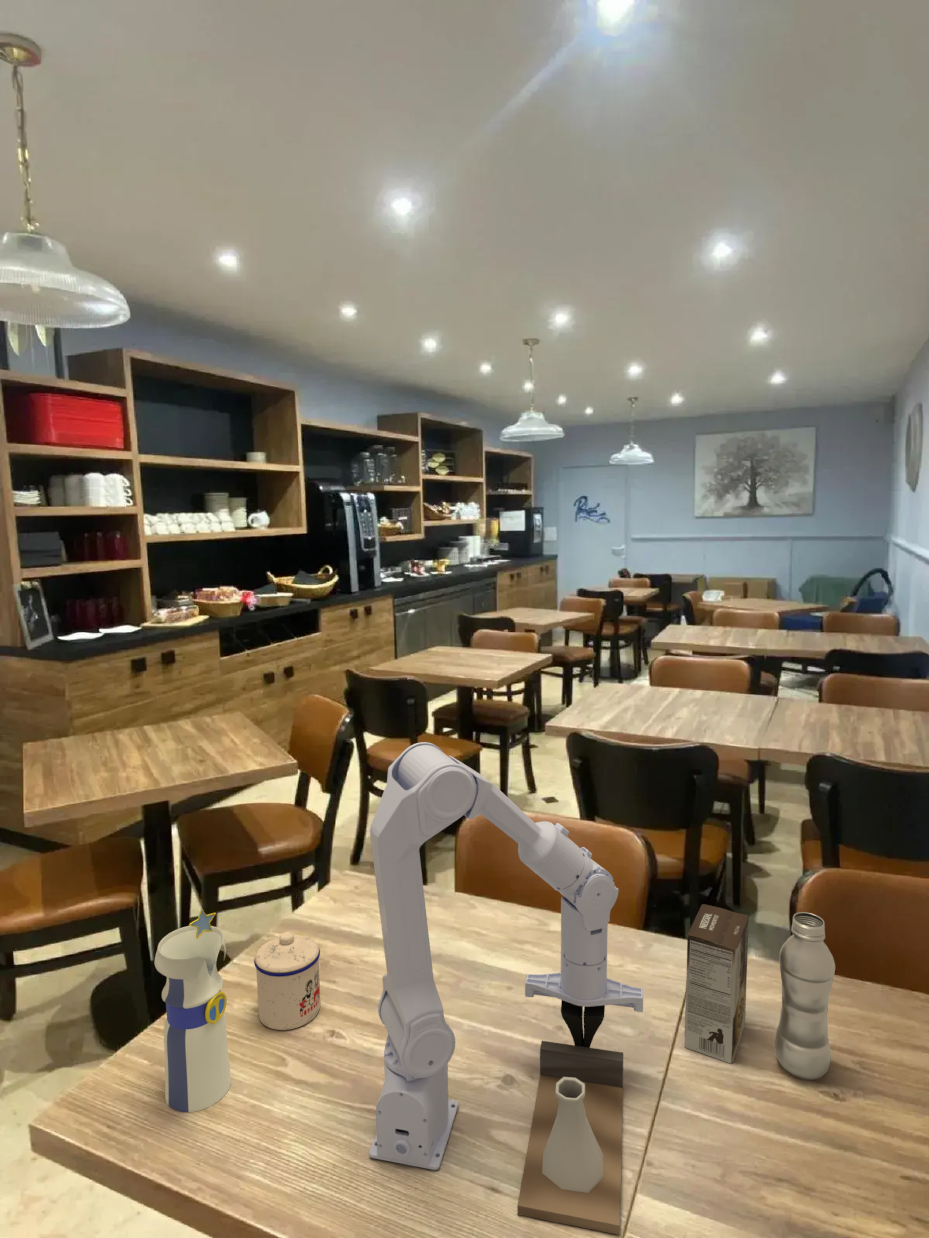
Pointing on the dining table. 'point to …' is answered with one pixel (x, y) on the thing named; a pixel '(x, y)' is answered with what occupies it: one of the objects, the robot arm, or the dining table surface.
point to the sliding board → (605, 1120)
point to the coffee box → (716, 982)
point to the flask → (572, 1142)
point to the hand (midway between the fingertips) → (582, 1052)
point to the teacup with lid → (288, 981)
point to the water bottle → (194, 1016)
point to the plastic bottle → (805, 999)
